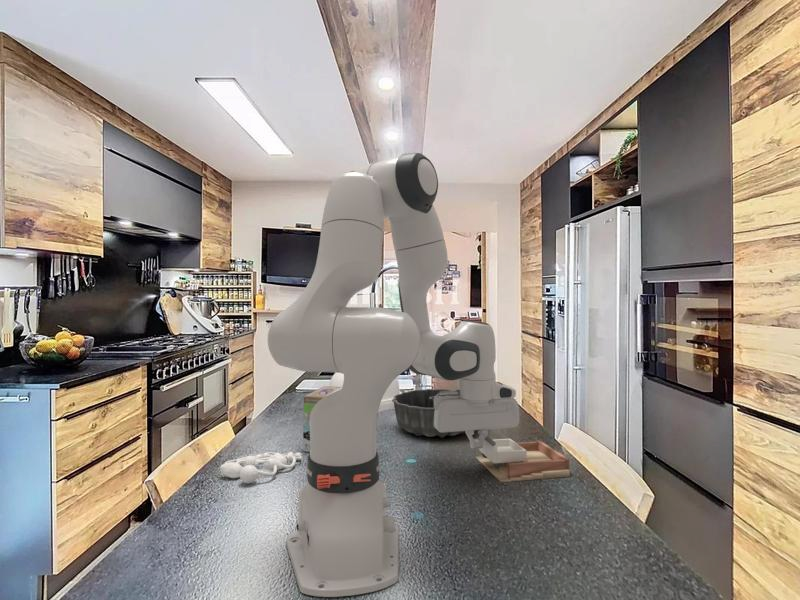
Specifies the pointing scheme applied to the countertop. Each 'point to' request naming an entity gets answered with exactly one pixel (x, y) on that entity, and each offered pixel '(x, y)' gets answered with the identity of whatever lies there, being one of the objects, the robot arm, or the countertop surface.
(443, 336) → the robot arm
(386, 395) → the dome cover
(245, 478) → the tangled rod sculpture
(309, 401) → the tea box
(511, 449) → the white tray with rod
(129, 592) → the countertop surface
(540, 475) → the dock
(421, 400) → the bundt pan
